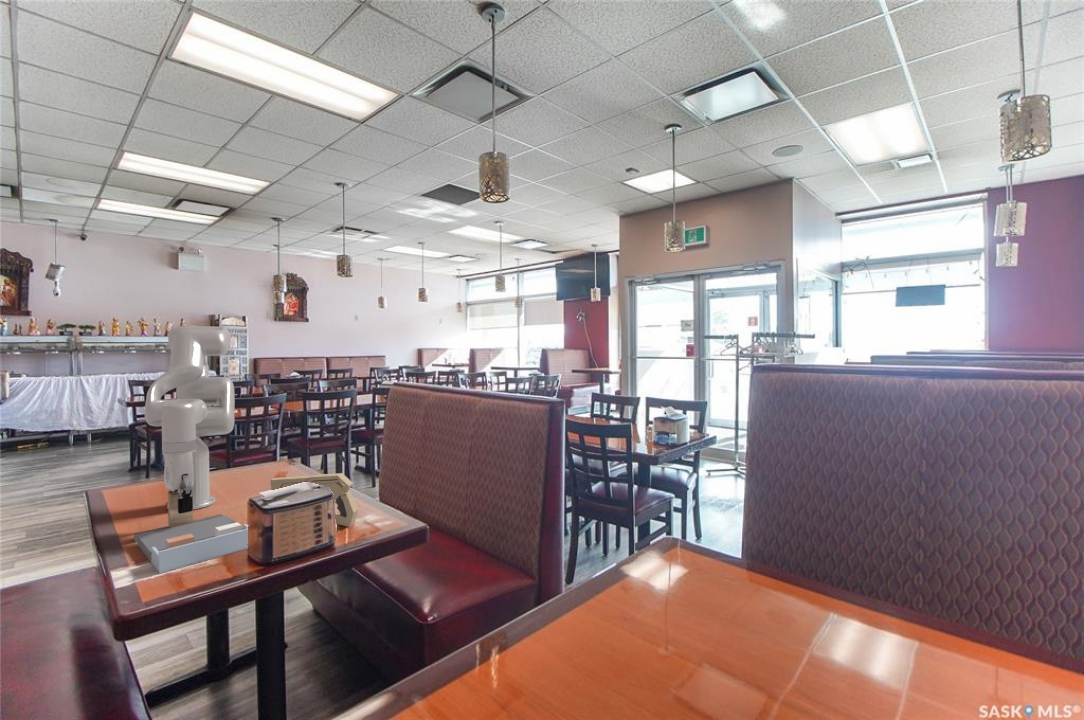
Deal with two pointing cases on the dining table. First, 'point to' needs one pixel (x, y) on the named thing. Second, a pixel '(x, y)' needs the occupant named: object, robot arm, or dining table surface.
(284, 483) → the gun
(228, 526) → the tile cream
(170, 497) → the scraper
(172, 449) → the robot arm
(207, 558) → the box
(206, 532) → the board
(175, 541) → the tile terracotta
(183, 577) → the dining table surface
